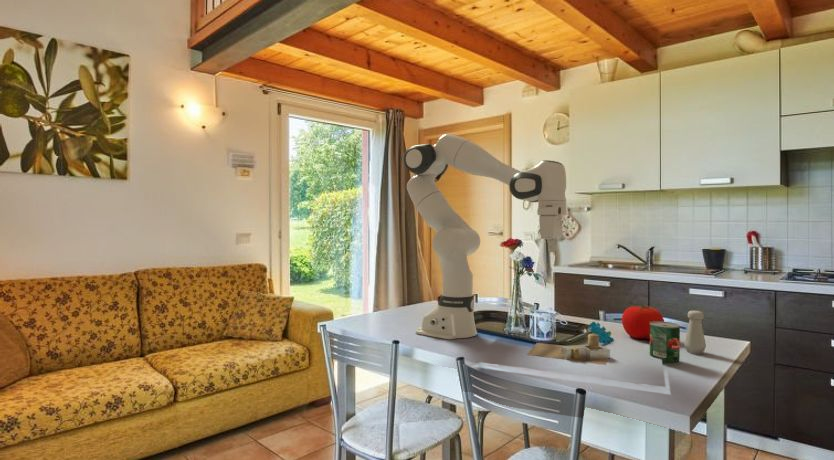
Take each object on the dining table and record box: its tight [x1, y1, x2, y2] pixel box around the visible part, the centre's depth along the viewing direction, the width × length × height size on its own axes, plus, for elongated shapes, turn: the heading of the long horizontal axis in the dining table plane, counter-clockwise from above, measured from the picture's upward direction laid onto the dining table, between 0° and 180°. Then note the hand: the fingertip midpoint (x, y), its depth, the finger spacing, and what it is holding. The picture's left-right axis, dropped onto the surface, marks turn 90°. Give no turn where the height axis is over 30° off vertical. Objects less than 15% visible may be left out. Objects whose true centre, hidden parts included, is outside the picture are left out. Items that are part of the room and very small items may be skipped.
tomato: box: [621, 304, 665, 340], centre depth 166 cm, size 13×14×12 cm
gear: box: [588, 321, 615, 346], centre depth 157 cm, size 11×6×10 cm
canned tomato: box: [649, 321, 681, 366], centre depth 139 cm, size 8×8×11 cm
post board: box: [526, 333, 608, 365], centre depth 142 cm, size 22×15×8 cm
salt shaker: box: [684, 310, 707, 355], centre depth 147 cm, size 6×6×13 cm
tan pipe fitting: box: [561, 343, 611, 360], centre depth 139 cm, size 13×6×3 cm, turn 102°
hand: (552, 251), depth 155 cm, fingers closed
